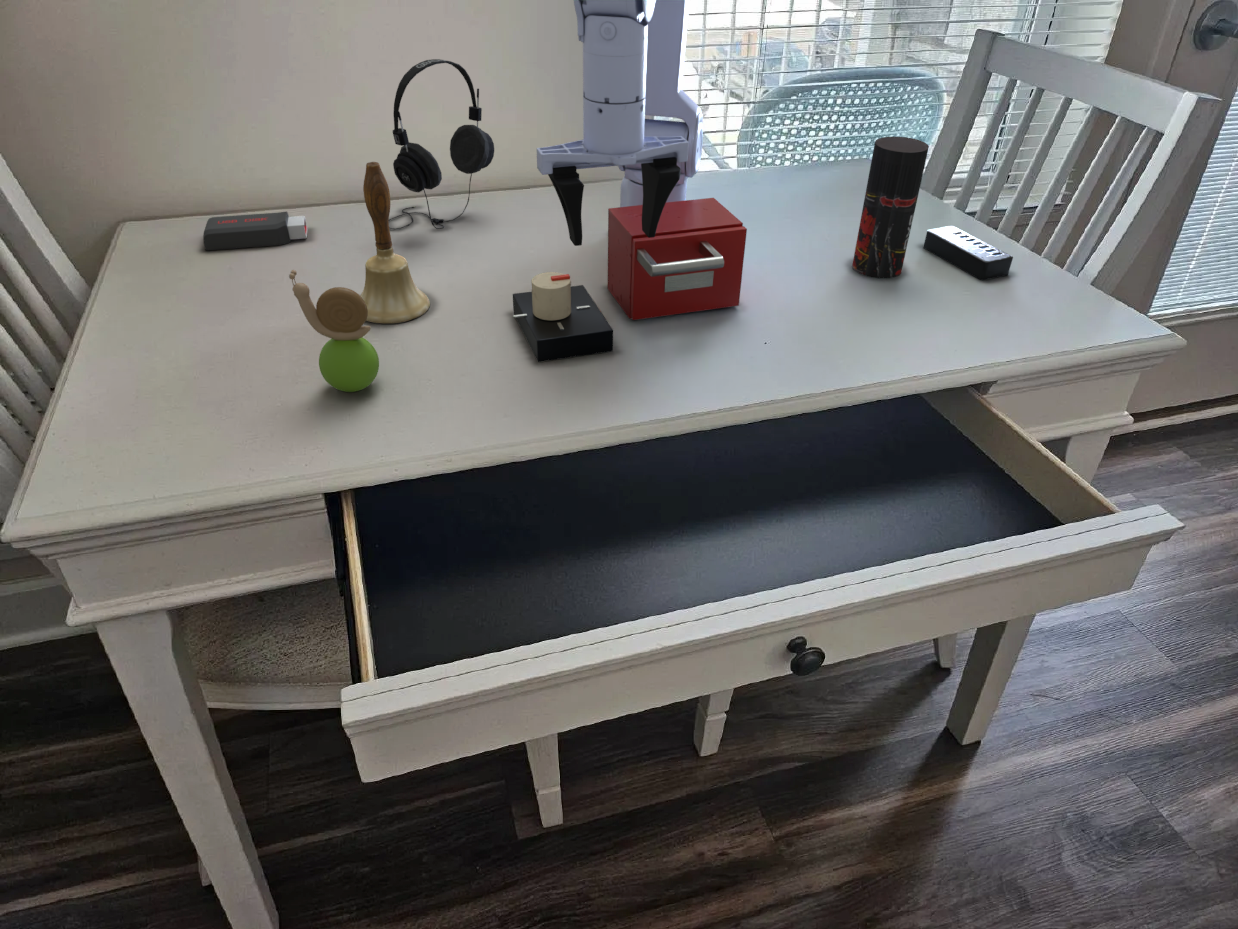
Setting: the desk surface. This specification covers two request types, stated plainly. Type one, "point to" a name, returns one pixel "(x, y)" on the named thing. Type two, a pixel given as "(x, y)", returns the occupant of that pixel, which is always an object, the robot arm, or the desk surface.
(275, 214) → the usb drive
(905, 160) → the deodorant
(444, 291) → the desk surface
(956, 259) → the multiport hub
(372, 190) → the hand bell
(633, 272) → the red drawer
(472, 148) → the headphones
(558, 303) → the lock dial
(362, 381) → the snail figurine
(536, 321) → the panel
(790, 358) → the desk surface
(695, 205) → the cabinet
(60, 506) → the desk surface
